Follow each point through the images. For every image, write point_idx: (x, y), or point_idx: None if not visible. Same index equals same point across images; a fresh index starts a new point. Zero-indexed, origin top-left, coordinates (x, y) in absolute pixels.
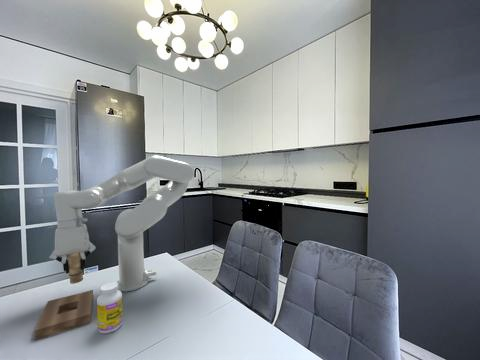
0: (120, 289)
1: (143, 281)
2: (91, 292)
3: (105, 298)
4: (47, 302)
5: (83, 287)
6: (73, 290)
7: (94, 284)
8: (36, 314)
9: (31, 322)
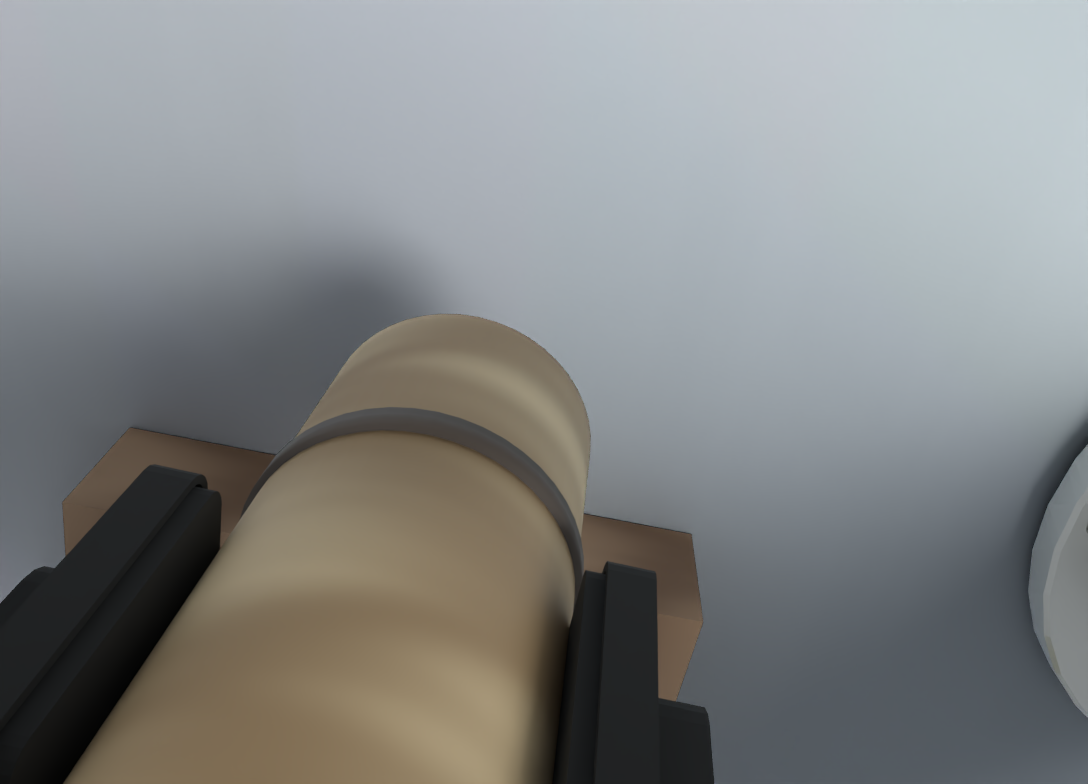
0: (1057, 675)
1: None
2: (660, 682)
3: None
4: (66, 537)
5: (627, 8)
6: (444, 3)
7: (838, 32)
8: (7, 445)
9: (9, 585)
